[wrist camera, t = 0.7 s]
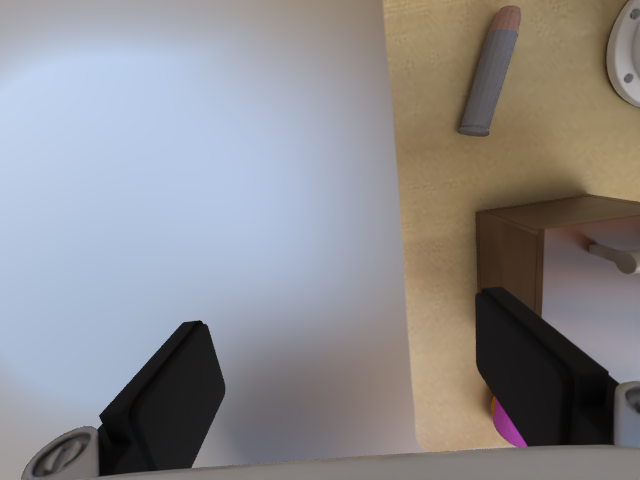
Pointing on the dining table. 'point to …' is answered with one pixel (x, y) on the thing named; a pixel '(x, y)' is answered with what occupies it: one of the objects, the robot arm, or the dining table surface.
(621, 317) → the lid
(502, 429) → the donut
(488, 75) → the bullet cartridge
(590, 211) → the chest
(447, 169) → the dining table surface
